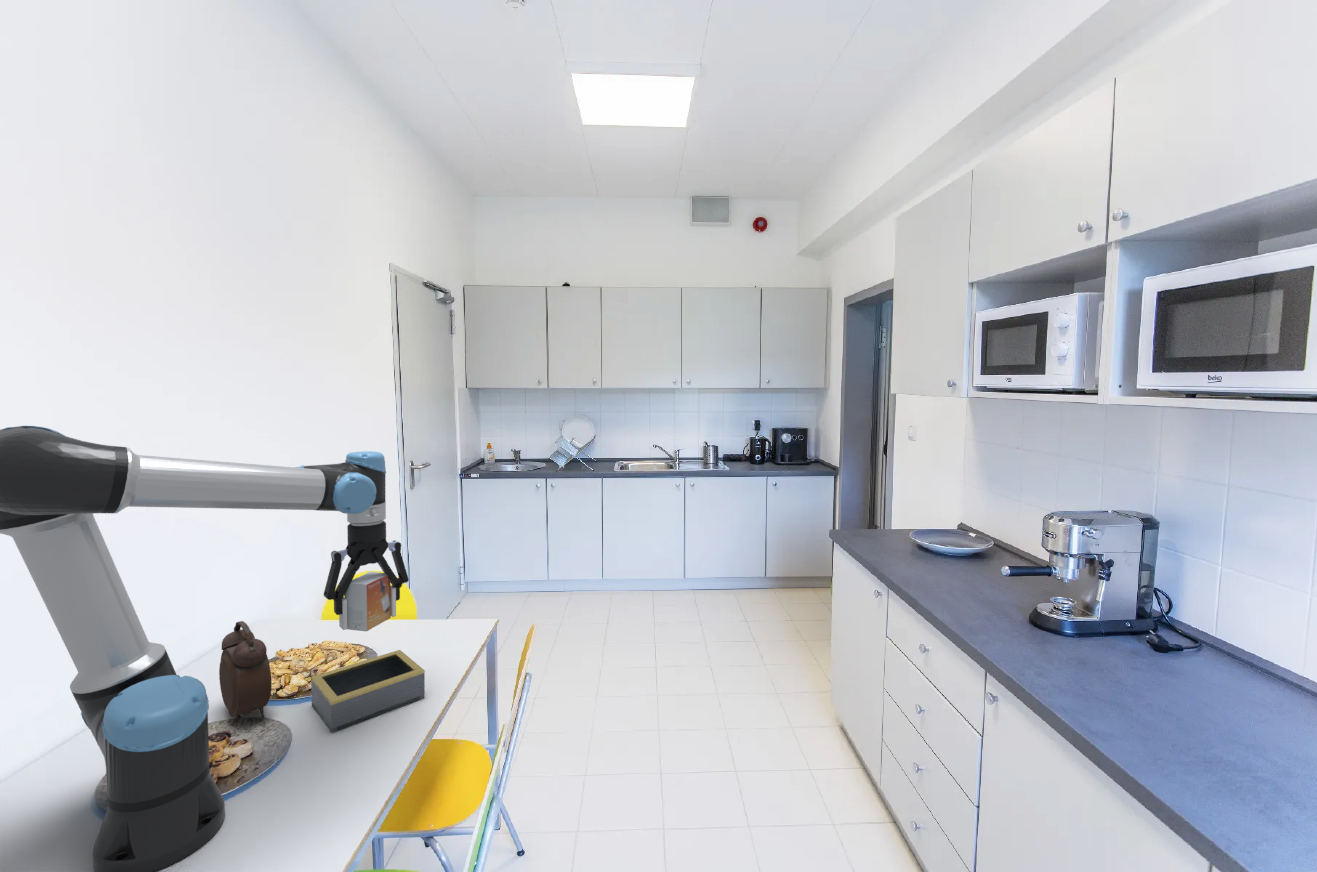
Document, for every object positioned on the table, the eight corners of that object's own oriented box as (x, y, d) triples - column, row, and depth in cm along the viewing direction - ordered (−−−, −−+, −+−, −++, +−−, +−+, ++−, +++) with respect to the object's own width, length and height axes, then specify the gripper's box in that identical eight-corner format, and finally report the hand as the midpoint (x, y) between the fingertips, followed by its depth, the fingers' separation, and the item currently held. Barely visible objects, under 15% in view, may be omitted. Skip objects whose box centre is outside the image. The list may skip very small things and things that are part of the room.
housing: (331, 733, 112) (331, 702, 112) (311, 705, 122) (311, 676, 121) (424, 698, 126) (424, 670, 125) (400, 675, 135) (399, 649, 135)
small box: (366, 632, 118) (365, 584, 117) (344, 629, 119) (343, 582, 118) (391, 617, 126) (391, 572, 125) (370, 615, 127) (369, 570, 126)
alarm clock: (278, 719, 116) (276, 627, 115) (236, 735, 111) (233, 638, 109) (257, 694, 126) (255, 609, 124) (217, 707, 120) (214, 618, 119)
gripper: (314, 533, 110) (316, 641, 112) (424, 517, 126) (425, 612, 128) (304, 526, 115) (306, 630, 117) (410, 512, 131) (411, 603, 133)
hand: (368, 621), depth 122 cm, fingers closed on small box, 9 cm apart
